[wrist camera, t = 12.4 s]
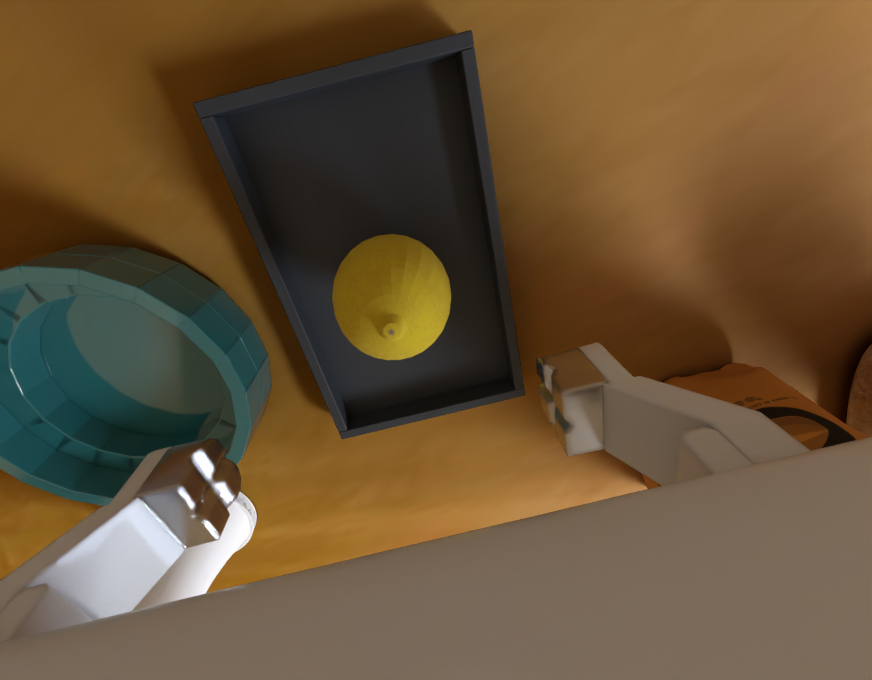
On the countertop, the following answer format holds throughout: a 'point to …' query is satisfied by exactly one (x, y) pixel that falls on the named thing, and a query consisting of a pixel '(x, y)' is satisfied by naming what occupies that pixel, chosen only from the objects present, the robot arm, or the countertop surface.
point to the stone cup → (861, 396)
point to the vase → (204, 559)
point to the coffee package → (769, 404)
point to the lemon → (391, 297)
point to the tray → (377, 218)
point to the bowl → (119, 367)
